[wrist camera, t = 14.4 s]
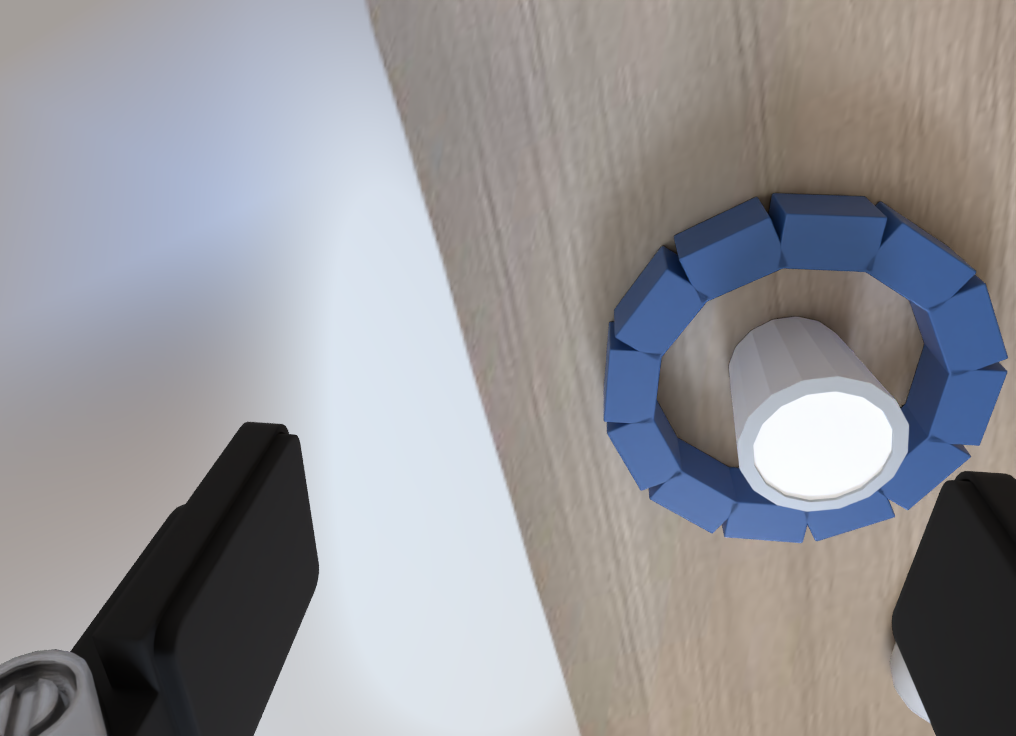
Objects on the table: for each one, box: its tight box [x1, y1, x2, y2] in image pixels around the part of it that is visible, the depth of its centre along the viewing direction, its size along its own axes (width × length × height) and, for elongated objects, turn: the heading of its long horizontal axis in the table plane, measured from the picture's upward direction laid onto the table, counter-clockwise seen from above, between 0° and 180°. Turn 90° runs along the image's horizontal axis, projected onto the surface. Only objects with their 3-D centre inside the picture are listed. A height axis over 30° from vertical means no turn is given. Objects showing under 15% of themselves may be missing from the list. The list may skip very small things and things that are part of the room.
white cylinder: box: [729, 316, 909, 512], centre depth 34 cm, size 7×7×7 cm
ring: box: [604, 193, 1008, 543], centre depth 36 cm, size 17×17×3 cm
